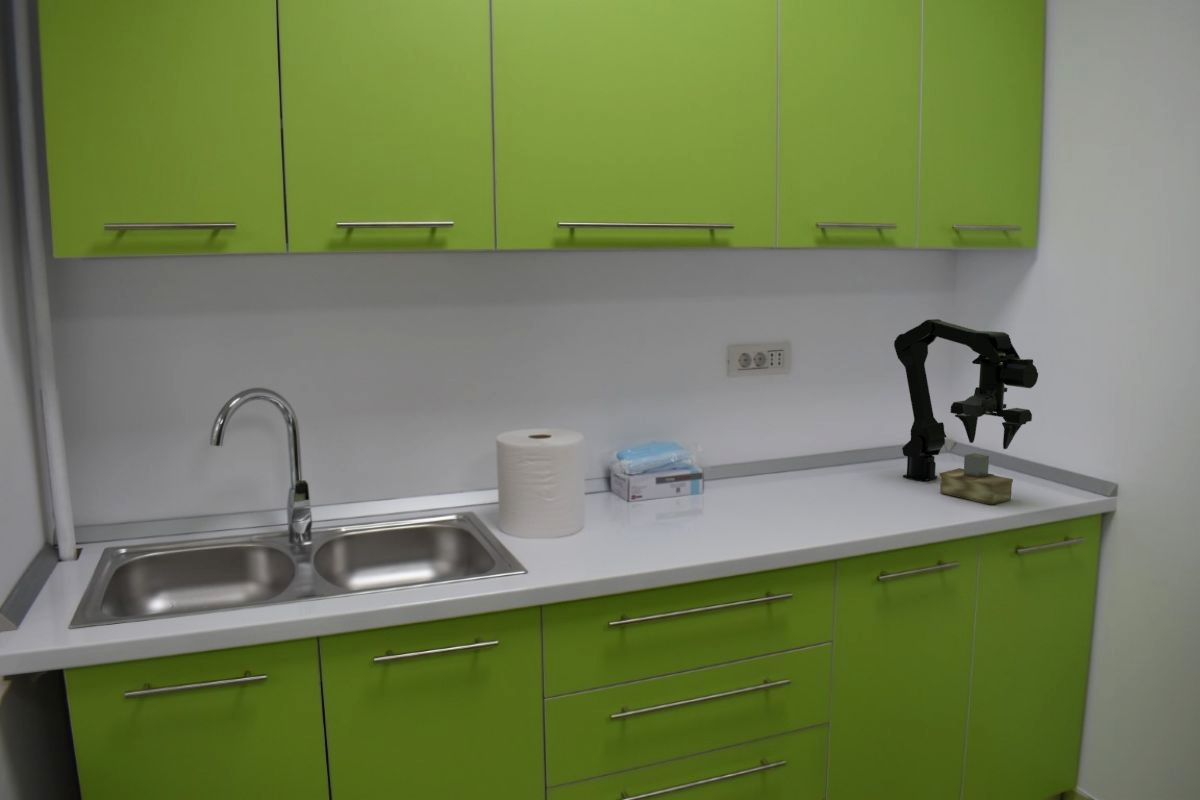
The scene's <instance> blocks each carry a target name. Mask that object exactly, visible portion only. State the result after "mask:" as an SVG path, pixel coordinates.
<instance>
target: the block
mask: <svg viewBox="0 0 1200 800" xmlns="http://www.w3.org/2000/svg"><path fill="white" fill-rule="evenodd" d="M989 463H990V456H989V455H986V454H981V453H975V452H974V453H969V454H964V459H963V469H964V475H966V476H971V477H976V478H981V477H985V476H988V473H989Z"/></svg>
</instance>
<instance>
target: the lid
mask: <svg viewBox="0 0 1200 800" xmlns="http://www.w3.org/2000/svg"><path fill="white" fill-rule="evenodd" d="M939 477H940V478H941V477H946V478H951V479H955V480H960V481H964V482H969V483H974V484H978V485H983V486H988V487H992V488H994V487H997V486H1001V485H1005V484H1008V483H1012V484H1013V482H1014V479H1013V478H1010V477H1004V476H1001V475H995V474H993V473H990V472H988V476H985V477H981V478H976V477H971V476H966V475H964V468H960V467H959V468H956V469H951V470H947V471H943V472H939Z"/></svg>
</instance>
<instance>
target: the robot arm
mask: <svg viewBox="0 0 1200 800" xmlns="http://www.w3.org/2000/svg"><path fill="white" fill-rule="evenodd" d="M937 338H941V339H944V340H947V341H950V342H954V343H956V344H960V345H964V346H966V347H968V348H970V349H971V350H972V352H974V353H976V354H978V356H977V357H976V358H974V359H973V360H972V361H971V363H972V364H973V365H979V379H978V386H977V387H976V386H975V388H974V394H973V395H971V396H969V397H967V398H966V399H965V400H960V401H958V400H957V401H953V402H952V403H951V405H950V410H949V411H950V412H949V413H951V414H953V415H954V417H956V418H958V419H959V420H960V421H961V422H962V425H963V427H964V429H965V433H966V436H967V439H968V442H969V443H970V444H972V443H974V442H975V440H976V439H975V438H976V433H977V426H978V425H977V424H978V420H979V418H980V417H983V416H984V415H985V416H991V417H992V416H993V417H999V418H1002V419H1003V420H1004V422H1001V424H1002V427H1003V437H1002V448H1003V450H1006V449H1007V450H1008V447H1009V446H1010V445H1011V443H1012V441H1013V439H1014V438H1015V435H1017V432H1018V431H1019V430H1020V428H1021V427H1022V426H1023V425H1026V424H1027V423H1028V422H1032V421H1033V413H1032V412H1031V410H1030V409H1029V408H1019V407H1014V408H1013V407H1012V408H1008V409H1007V404H1006V403H1004V396H1005V393H1007V392H1008V387H1005V386H1009V387H1016V388H1025V389H1032V388H1033V387H1035V385H1036V384H1037V382H1038V378H1039V372H1038V369H1037V367H1036V365H1034V359H1032V358H1027V359H1026V358H1025V359H1024V358H1021V357H1020V355H1019V354H1018V351H1017V350H1016V348H1015V347H1014V345H1013V343H1012V341H1011V338H1010V335H1009V334H1008V333H1007V332H1004V331H989V330H986V331H985V330H976V329H972V328H969V327H966V326H961V325H958V324H954V323H951V322H947V321H943V320H941V319H940V318H933V319H926V320H924V321H922V323H920V324H919V325H917V326H915V327H913V328H911V329H909V330H907V331H906V332H904V333H900V334H898V336H896V338H895V340H894V341H893V342H894V343H893V347H894V350H895V354H896V356H897V359H898V360H899V361H900V363H901V364H902V365H903V366H904V369H905V374H906V380H907V385H908V392H909V396H910V404H911V407H912V413H913V415H912V416H913V422H912V426H911V429H910V440H909V441H908V442H907V443H906V444H904V445H903V446H902V447H901V450H902V455H903V456H905V457H907V458H906V459H907V461H906V462H907V465H906V474H903V475H902V477H903V478H907V479H912V480H917V481H919V482H926V481H929V480H930V481H931V480H934V479H937V478H938V475H936V466H937V463H936V461H935V458H936V457H935V456H939V454H940V452H941V449H942V448H943V446H945V444H946V439H945V438H947V434H946V432H945V423H944V422H943V421H942V422H941V421H940V422H938V421H937V419H936V418H935V417H934V411H933V406H932V401H931V395H930V389H929V388H930V387H929V381H928V377H927V372H926V367H925V364H926V360H927V358H928V355H929V345H931V344H932V343H934V342H935V340H936V339H937Z"/></svg>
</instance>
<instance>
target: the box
mask: <svg viewBox="0 0 1200 800" xmlns="http://www.w3.org/2000/svg"><path fill="white" fill-rule="evenodd" d="M1012 485H1013V482H1012V483H1008V484H1005V485H1001V486H997V487H994V488H992V487H988V486H983V485H978V484H974V483H969V482H964V481H960V480H955V479H951V478H946V477H941V476H940V489H939V492H940V494H944V495H949V496H953V497H957V498H961V499H967V500H970V501H974V502H978V503H983V504H986V505H991V506H993V505H996V504H1000V503H1002V502H1003V503H1004V502H1007V501H1011V500H1012V489H1013V488H1012V487H1013V486H1012Z"/></svg>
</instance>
